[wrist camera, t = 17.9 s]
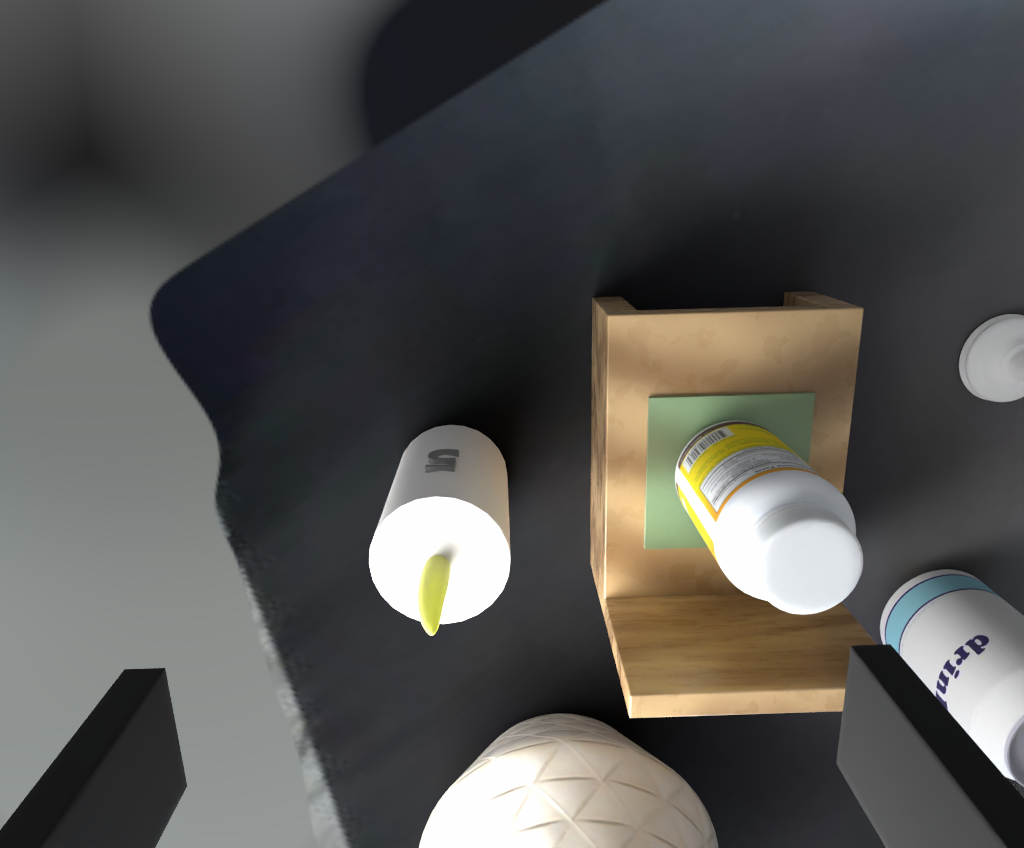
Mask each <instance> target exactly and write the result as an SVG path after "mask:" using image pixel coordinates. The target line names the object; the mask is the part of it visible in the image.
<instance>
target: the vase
mask: <svg viewBox="0 0 1024 848" xmlns="http://www.w3.org/2000/svg"><path fill="white" fill-rule="evenodd" d="M419 848H718V843H717V838H716V834H715V830H714V827H713V824H712V822H711V819H710V817H709V814H708V812H707V810H706V808H705V807H704V805H703V803H702V802H701V800H700V799H699V797H698V796H697V794H696V793H695V792H694V790H693V789H692V788H691V787H690V786H689V784H688V783H687V782H686V781H685V780H684V779H683V778H682V777H681V776H680V775H678V774H677V773H676V772H675V771H674V770H673V769H671V768H670V767H668V766H667V765H666V764H664V763H663V762H661V761H660V760H658V759H657V758H655V757H654V756H653V755H651V754H650V753H648V752H647V751H645V750H644V749H642V748H641V747H640V746H638V745H637V744H635V743H634V742H632V741H631V740H629V739H628V738H626V737H625V736H624V735H622V734H621V733H619V732H618V731H616V730H615V729H613V728H612V727H611V726H609V725H607V724H605V723H603V722H601V721H598V720H596V719H593V718H590V717H586V716H582V715H576V714H563V713H558V714H547V715H542V716H537V717H534V718H531V719H528V720H525V721H523V722H520V723H518V724H516V725H515V726H513V727H511V728H509V729H508V730H507V731H505V732H504V733H502V734H501V735H500V736H499V737H498V738H497V739H496V740H495V741H493V743H492V744H491V745H490V746H489V747H488V748H487V749H486V750H485V751H484V752H483V753H482V754H481V755H480V756H479V757H478V758H477V759H476V760H475V761H474V763H473V764H472V765H471V766H470V767H469V768H468V769H467V770H466V771H465V772H464V773H463V774H462V775H461V776H460V777H459V778H458V779H457V780H456V781H455V783H454V784H453V785H452V786H451V787H450V788H449V789H448V790H447V792H446V793H445V794H444V795H443V796H442V798H441V799H440V800H439V802H438V803H437V805H436V807H435V808H434V810H433V811H432V813H431V815H430V817H429V820H428V822H427V824H426V827H425V829H424V831H423V835H422V838H421V842H420V846H419Z"/></svg>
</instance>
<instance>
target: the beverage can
mask: <svg viewBox="0 0 1024 848" xmlns="http://www.w3.org/2000/svg"><path fill="white" fill-rule="evenodd" d="M880 634H881V639H882V642H883V644H884V645H885V644H891V645H892V647H893V648H894V649H895V650H896V651H897V652H898V654H899V655H900V656H901V657H902V658H903V659H904V661H905V662H906V663H907V664H908V665H909V666H910V667H911V669H912V670H913V671H914V672H915V673H916V674H917V676H918V677H919V678H920V679H921V680H922V681H923V683H924V684H925V685H926V686H927V687H928V688H929V689H930V691H931V692H932V693H933V694H934V695H935V696H936V698H937V699H938V700H939V701H940V702H941V703H942V704H943V706H944V707H945V708H946V709H947V710H948V711H949V713H950V714H951V715H952V716H953V717H954V718H955V720H956V721H957V722H958V723H959V724H960V725H961V726H962V728H963V729H964V730H965V731H966V732H967V733H968V735H969V736H970V737H971V738H972V739H973V740H974V742H975V743H976V744H977V745H978V746H979V747H980V748H981V750H982V751H983V752H984V753H985V754H986V755H987V757H988V758H989V759H990V760H991V761H992V762H993V764H994V765H995V766H996V767H997V768H998V769H999V770H1000V772H1001V773H1002V774H1003V775H1004V776H1005V777H1007V778H1010V779H1012V780H1015V781H1017V782H1018V783H1019V784H1020V785H1022V786H1023V787H1024V616H1023V615H1022V614H1021V613H1020V612H1018V611H1017V610H1016V609H1015V608H1013V607H1012V606H1011V605H1010V604H1009V603H1007V602H1006V601H1005V600H1004V599H1002V598H1001V597H1000V596H999V595H997V594H996V593H995V592H994V591H992V590H991V589H990V588H989V587H988V586H986V585H985V584H984V583H983V582H981V581H980V580H979V579H977V578H976V577H974V576H973V575H970V574H968V573H966V572H962V571H958V570H949V569H945V570H935V571H931V572H927V573H924V574H921V575H919V576H917V577H915V578H913V579H911V580H909V581H908V582H906V583H905V584H904V585H902V586H901V587H900V588H899V589H898V590H897V591H896V592H895V593H894V594H893V595H892V597H891V598H890V599H889V601H888V603H887V604H886V606H885V608H884V611H883V614H882V617H881V622H880Z"/></svg>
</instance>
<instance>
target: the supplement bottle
mask: <svg viewBox="0 0 1024 848" xmlns="http://www.w3.org/2000/svg"><path fill="white" fill-rule="evenodd" d="M675 485H676V490H677V494H678V496H679V498H680V501H681V502H682V504H683V506H684V508H685V509H686V511H687V513H688V514H689V516H690V517H691V519H692V521H693V522H694V524H695V526H696V527H697V529H698V531H699V533H700V534H701V536H702V537H703V539H704V541H705V542H706V544H707V546H708V548H709V549H710V551H711V553H712V554H713V556H714V558H715V559H716V561H717V562H718V564H719V566H720V567H721V569H722V570H723V572H724V573H725V575H726V576H727V577H728V579H729V580H730V581H731V582H732V583H733V584H734V585H735V586H736V587H738V588H739V589H740V590H742V591H743V592H745V593H747V594H749V595H751V596H753V597H756V598H758V599H762V600H766V601H769V602H770V603H771V604H772V605H774V606H775V607H777V608H779V609H781V610H783V611H786V612H789V613H793V614H813V613H818V612H822V611H825V610H827V609H830V608H832V607H833V606H835V605H837V604H838V603H840V602H841V601H842V600H844V599H845V598H846V597H847V596H848V595H849V594H850V593H851V592H852V590H853V589H854V588H855V586H856V584H857V582H858V580H859V578H860V576H861V573H862V569H863V552H862V549H861V545H860V543H859V541H858V539H857V538H856V525H855V519H854V515H853V512H852V510H851V508H850V505H849V503H848V502H847V500H846V499H845V497H844V496H843V495H842V494H841V493H840V491H839V490H838V489H837V488H836V487H835V486H833V485H832V484H831V483H830V482H829V481H828V480H826V479H825V478H824V477H823V476H822V475H821V474H819V473H818V472H817V471H816V470H815V469H814V468H812V467H811V466H810V465H809V464H808V463H807V462H805V461H804V460H803V459H802V458H801V457H800V456H798V455H797V454H796V453H795V452H794V451H793V450H791V449H790V448H789V447H788V446H787V445H785V444H784V443H783V442H782V441H781V440H780V439H778V438H777V437H776V436H775V435H774V434H773V433H771V432H770V431H768V430H767V429H765V428H764V427H762V426H760V425H757V424H755V423H751V422H747V421H739V420H733V421H724V422H720V423H716V424H714V425H711V426H709V427H707V428H705V429H703V430H702V431H700V432H699V433H698V434H696V435H695V436H694V437H693V438H692V439H691V440H690V441H689V442H688V443H687V445H686V446H685V448H684V449H683V451H682V453H681V454H680V457H679V459H678V462H677V466H676V471H675Z"/></svg>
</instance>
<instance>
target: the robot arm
mask: <svg viewBox="0 0 1024 848" xmlns="http://www.w3.org/2000/svg"><path fill="white" fill-rule="evenodd" d="M836 764H837V766H838V767H839V769H840V771H841V772H842V774H843V776H844V777H845V779H846V781H847V783H848V784H849V786H850V788H851V789H852V791H853V793H854V794H855V796H856V798H857V799H858V801H859V803H860V805H861V806H862V808H863V810H864V811H865V813H866V815H867V816H868V818H869V820H870V821H871V823H872V825H873V827H874V828H875V830H876V832H877V833H878V835H879V837H880V838H881V840H882V842H883V843H884V845H885V847H886V848H1024V798H1023V797H1022V796H1021V795H1020V794H1019V792H1018V791H1017V790H1016V789H1015V788H1014V787H1013V785H1012V784H1011V783H1010V782H1009V781H1008V780H1007V779H1006V777H1005V776H1004V775H1003V774H1002V773H1001V772H1000V770H999V769H998V768H997V767H996V766H995V765H994V764H993V762H992V761H991V760H990V759H989V758H988V757H987V755H986V754H985V753H984V752H983V751H982V750H981V748H980V747H979V746H978V745H977V744H976V743H975V742H974V740H973V739H972V738H971V737H970V736H969V735H968V733H967V732H966V731H965V730H964V729H963V728H962V726H961V725H960V724H959V723H958V722H957V721H956V720H955V718H954V717H953V716H952V715H951V714H950V713H949V711H948V710H947V709H946V708H945V707H944V706H943V704H942V703H941V702H940V701H939V700H938V699H937V698H936V696H935V695H934V694H933V693H932V692H931V691H930V689H929V688H928V687H927V686H926V685H925V684H924V683H923V681H922V680H921V679H920V678H919V677H918V676H917V674H916V673H915V672H914V671H913V670H912V669H911V667H910V666H909V665H908V664H907V663H906V662H905V661H904V659H903V658H902V657H901V656H900V655H899V654H898V652H897V651H896V650H895V649H894V648H893V647H892V645H891V644H885V645H855V646H851V649H850V657H849V665H848V673H847V681H846V689H845V697H844V705H843V713H842V721H841V729H840V737H839V745H838V753H837V761H836ZM186 787H187V783H186V777H185V773H184V767H183V762H182V756H181V752H180V746H179V740H178V735H177V729H176V724H175V719H174V714H173V708H172V703H171V697H170V692H169V687H168V681H167V676H166V671H165V668H158V669H157V668H154V669H127V670H126V669H125V670H124V671H123V672H122V673H121V675H120V676H119V678H118V679H117V680H116V681H115V683H114V684H113V685H112V687H111V688H110V689H109V690H108V692H107V693H106V694H105V696H104V697H103V698H102V699H101V701H100V702H99V703H98V705H97V706H96V707H95V708H94V710H93V711H92V712H91V714H90V715H89V716H88V718H87V719H86V720H85V721H84V723H83V724H82V725H81V726H80V728H79V729H78V731H77V732H76V733H75V734H74V736H73V737H72V738H71V740H70V741H69V742H68V743H67V745H66V746H65V747H64V748H63V750H62V751H61V752H60V754H59V755H58V757H57V758H56V759H55V760H54V761H53V763H52V764H51V765H50V767H49V768H48V769H47V771H46V772H45V773H44V774H43V776H42V777H41V778H40V780H39V781H38V782H37V783H36V785H35V786H34V787H33V789H32V790H31V791H30V792H29V794H28V795H27V796H26V798H25V799H24V800H23V802H22V803H21V804H20V805H19V807H18V808H17V809H16V811H15V812H14V813H13V814H12V816H11V817H10V818H9V820H8V821H7V822H6V824H5V825H4V826H3V828H2V829H1V830H0V848H155V847H156V845H157V843H158V841H159V839H160V837H161V835H162V833H163V831H164V829H165V828H166V826H167V824H168V822H169V820H170V818H171V816H172V814H173V812H174V810H175V808H176V806H177V804H178V802H179V800H180V799H181V796H182V795H183V793H184V791H185V789H186Z"/></svg>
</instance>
